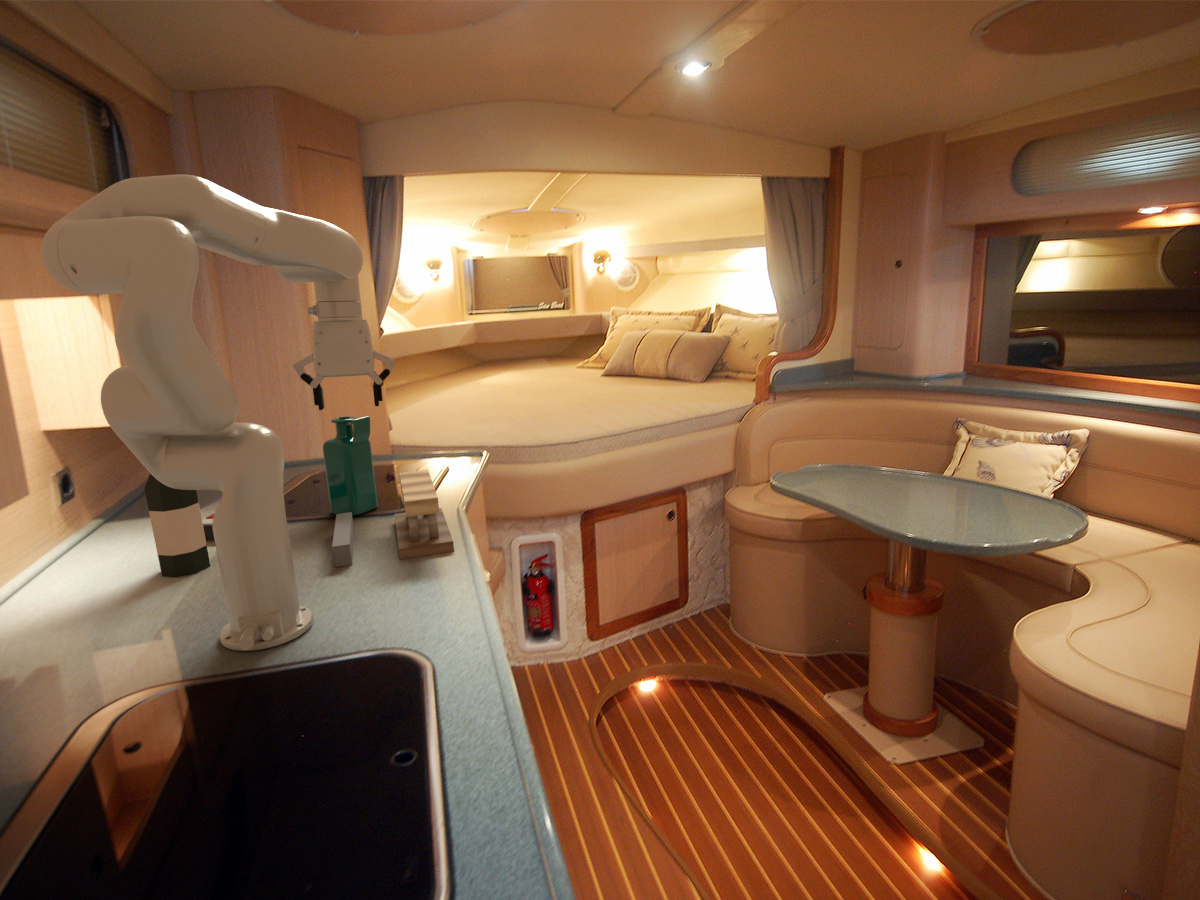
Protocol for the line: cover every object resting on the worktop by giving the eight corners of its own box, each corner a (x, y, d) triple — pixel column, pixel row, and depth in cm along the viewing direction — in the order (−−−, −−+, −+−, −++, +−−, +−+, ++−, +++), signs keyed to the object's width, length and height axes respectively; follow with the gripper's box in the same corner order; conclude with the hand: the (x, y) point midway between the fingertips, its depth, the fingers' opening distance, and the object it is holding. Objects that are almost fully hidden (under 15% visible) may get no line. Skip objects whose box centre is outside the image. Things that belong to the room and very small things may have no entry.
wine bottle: (151, 579, 123) (117, 415, 116) (172, 561, 131) (141, 407, 124) (201, 575, 124) (170, 412, 117) (218, 557, 132) (191, 404, 125)
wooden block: (439, 512, 128) (437, 497, 127) (406, 517, 126) (404, 501, 126) (429, 482, 148) (427, 469, 148) (400, 486, 147) (399, 472, 146)
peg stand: (454, 550, 131) (450, 511, 129) (400, 559, 128) (395, 518, 126) (442, 516, 151) (438, 481, 149) (395, 522, 148) (391, 487, 146)
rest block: (352, 564, 126) (349, 544, 125) (334, 567, 125) (332, 546, 124) (353, 529, 144) (351, 512, 144) (338, 532, 144) (336, 514, 143)
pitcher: (327, 513, 156) (314, 419, 151) (354, 502, 163) (343, 412, 158) (359, 518, 152) (347, 421, 147) (386, 507, 159) (375, 414, 154)
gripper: (284, 313, 116) (296, 413, 119) (390, 310, 121) (398, 406, 124) (290, 314, 123) (301, 408, 127) (390, 311, 128) (398, 401, 131)
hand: (349, 407), depth 125 cm, fingers open, 9 cm apart
